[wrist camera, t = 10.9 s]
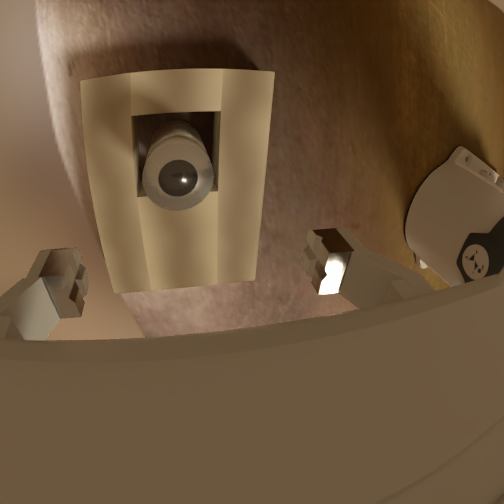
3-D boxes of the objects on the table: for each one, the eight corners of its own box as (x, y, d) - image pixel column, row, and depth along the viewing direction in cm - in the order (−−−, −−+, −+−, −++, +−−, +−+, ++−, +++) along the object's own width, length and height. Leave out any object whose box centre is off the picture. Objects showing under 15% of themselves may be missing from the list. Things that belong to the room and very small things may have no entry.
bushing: (201, 118, 21) (214, 142, 15) (200, 165, 23) (213, 208, 17) (150, 121, 20) (139, 146, 14) (152, 168, 22) (145, 213, 16)
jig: (260, 71, 20) (274, 72, 17) (245, 258, 30) (254, 280, 27) (93, 78, 17) (80, 80, 14) (118, 269, 27) (114, 293, 24)
